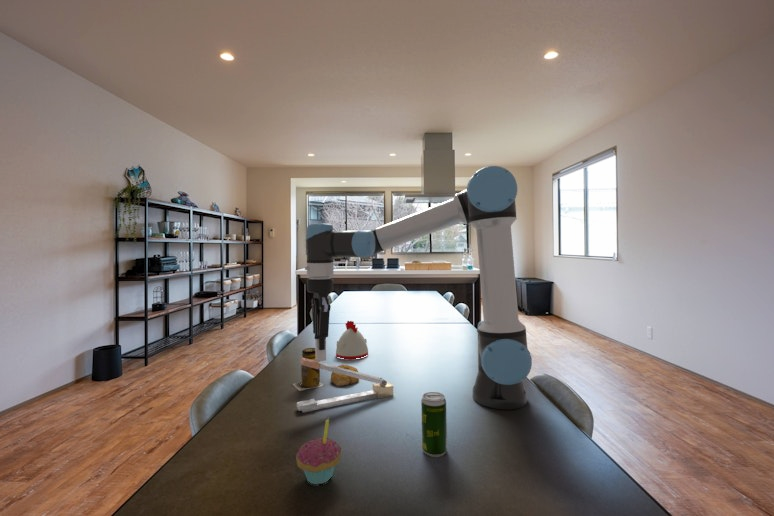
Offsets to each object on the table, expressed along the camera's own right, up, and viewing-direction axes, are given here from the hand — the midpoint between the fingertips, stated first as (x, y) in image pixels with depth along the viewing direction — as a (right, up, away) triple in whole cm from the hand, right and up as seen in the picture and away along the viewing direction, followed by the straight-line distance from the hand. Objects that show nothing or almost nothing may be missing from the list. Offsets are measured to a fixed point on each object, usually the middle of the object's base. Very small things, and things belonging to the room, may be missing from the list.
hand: (320, 360), depth 101 cm
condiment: (-7, -14, +17) cm, 23 cm away
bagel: (+4, -14, +21) cm, 25 cm away
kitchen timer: (+4, -13, +52) cm, 54 cm away
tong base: (+7, -13, +3) cm, 15 cm away
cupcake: (+6, -14, -33) cm, 36 cm away
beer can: (+29, -13, -24) cm, 40 cm away
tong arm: (+6, -5, +3) cm, 9 cm away
